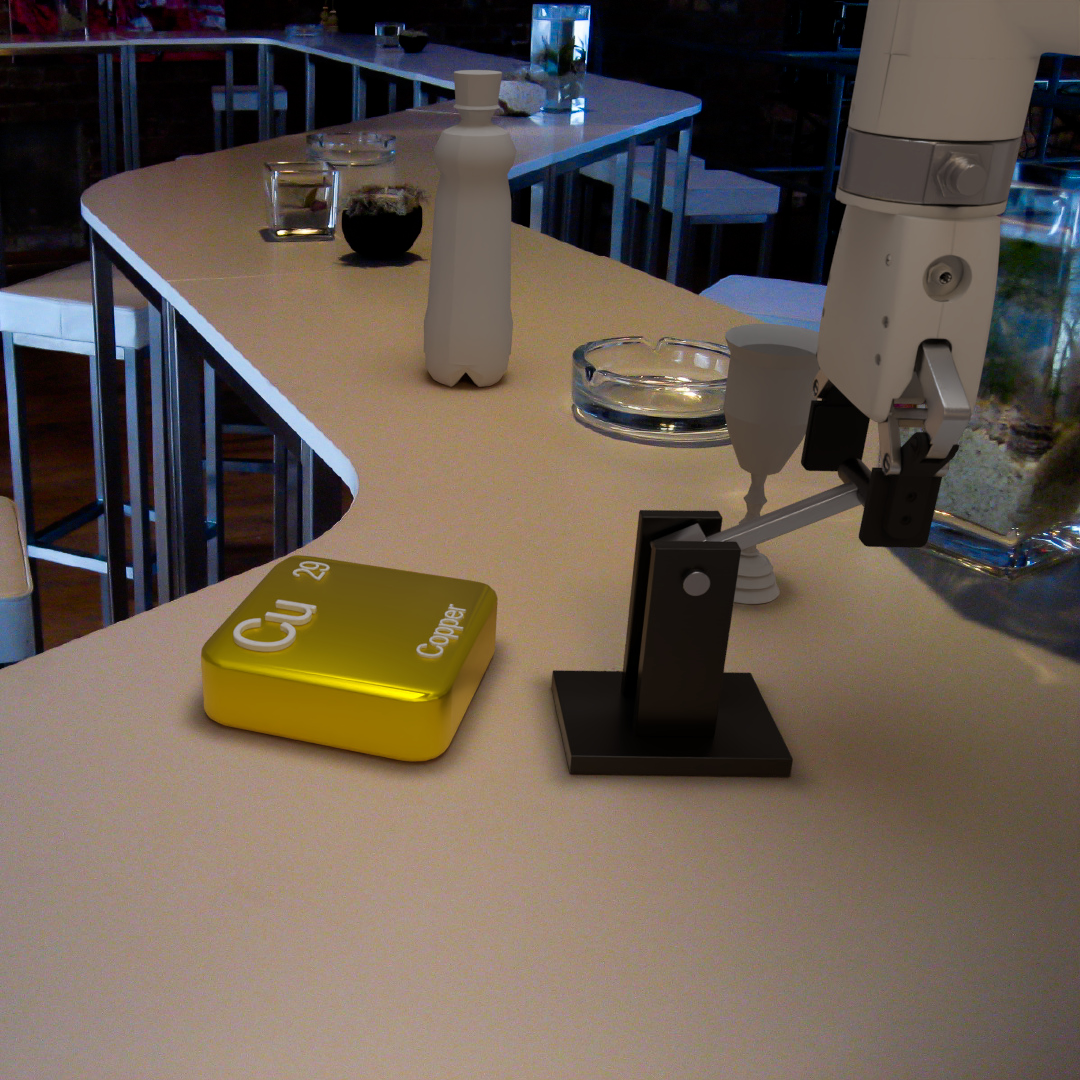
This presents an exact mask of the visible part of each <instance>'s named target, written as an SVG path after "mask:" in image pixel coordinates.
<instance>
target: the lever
mask: <svg viewBox="0 0 1080 1080" xmlns="http://www.w3.org/2000/svg"><path fill="white" fill-rule="evenodd" d="M871 471H872V470H871V469H870V468H869V467H868V466H867V465H866V464H865V462H863V460H862V461H861V460H860V459H857V458H849V459H846V460H844V461H843V462H842V463H841V464H840V466H839V468H838V471H837V475H838V476H837V477H838V478H839V479H840V480H841V482H842V484H840V485H837V486H834V487H832V488H829V489H827V490H824V491H822V492H819V493H816V494H814V495H811V496H808V497H806V498H804V499H801V500H799V501H795V502H793V503H790V504H788V505H785V506H783V507H780V508H777V509H775V510H773V511H770V512H768V513H767V512H766V513H765V514H763V515H760V517H757V518H755V519H752V520H749V521H747V522H744V523H742V524H739V523H738V524H737V525H734V526H732V527H729V528H727V529H726V528H725V529H724V530H721V532H719V533H716V534H713V535H711V536H708V537H705V535H704V533H703V531H702V529H701V527H700V525H699V524H694V525H692V526H689V527H687V528H684V529H682V530H679V531H677V532H674V533H671V534H669V535H666V536H664V537H661V538H659V539H656V540H654V541H725V542H737V543H738V545H739V547H740V549H741V551H742V550H744V549H747V548H750V547H752V546H755V545H756V546H758V545H760V544H763V543H765V542H767V541H770V540H773V539H776V538H778V537H781V536H784V535H785V534H788V533H791V532H793V531H796V530H798V529H799V530H800V529H802V528H805V527H807V526H809V525H813V524H814V523H817V522H819V521H822V520H824V519H828V518H830V517H833V516H835V515H838V514H841V513H844V512H846V511H849V510H851V509H853V508H857V507H858V506H862V507H863V508H864V506H865V501H866V496H867V491H868V486H869V481H870V476H871ZM652 542H653V541H651V542H650V545H651V548H652Z"/></svg>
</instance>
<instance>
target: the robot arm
mask: <svg viewBox="0 0 1080 1080" xmlns="http://www.w3.org/2000/svg"><path fill="white" fill-rule="evenodd" d="M1045 53H1046V54H1047V53H1052V54H1053V53H1054V54H1061V55H1062V54H1064V55H1072V56H1079V57H1080V0H868V5H867V9H866V17H865V22H864V29H863V34H862V40H861V46H860V52H859V58H858V64H857V69H856V74H855V81H854V86H853V92H852V97H851V102H850V108H849V115H848V122H847V125H848V126H847V128H846V132H845V138H844V144H843V150H842V156H841V162H840V168H839V173H838V180H837V185H836V190H835V199H836V201H839V202H840V203H841V204H844V205H846V206H845V209H844V213H843V218H842V220H841V225H840V227H839V233H838V237H837V240H836V244H835V249H834V252H833V253H834V254H833V257H832V262H831V266H830V270H829V275H828V280H827V285H826V289H825V294H824V301H823V305H822V312H821V317H820V323H819V330H818V332H819V336H818V346H817V352H816V357H817V360H818V364H819V371H818V373H817V375H816V376H815V378H814V380H813V384H812V395H813V398H815V399H817V400H811V406H810V411H809V417H808V423H807V429H806V434H805V436H804V439H803V447H802V453H801V458H800V465H801V466H802V467H803V468H804V470H805V471H808V472H838V468H839V466H840V464H841V463H842V462H843V461H844V460H846V459H849V458H857V459H860V460H861V461H862V462H863V456H864V451H865V447H866V441H867V436H868V431H869V427H870V421H873V422H874V423H877V431H878V443H879V454H880V466H881V467H876V466H875V467H874V466H873V467H872V468H871V470H870V471H871V476H870V481H869V486H868V491H867V496H866V501H865V506H864V507H863V511H862V515H861V522H860V527H859V531H858V538H859V541H860V542H861V544H862V545H863V546H865V547H869V548H906V549H907V548H909V549H910V548H911V549H912V548H914V549H915V548H916V549H920V548H923V547H924V546H925V545H926V544H927V543H928V541H929V537H930V533H931V528H932V523H933V519H934V515H935V510H936V506H937V502H938V498H939V492H940V488H941V483H942V479H943V477H946V476H947V475H948V473H949V469H950V463H951V462H950V461H952V460H953V459H954V458H955V456H956V455H957V453H958V451H959V450H960V444H958V443H959V441H960V439H961V438H962V436H963V434H964V433H965V431H966V429H967V428H968V425H970V424H969V423H970V421H971V419H972V416H973V414H974V411H975V407H976V402H977V398H978V394H979V390H980V384H981V379H982V374H983V369H984V363H985V358H986V353H987V347H988V341H989V336H990V329H991V323H992V319H993V318H992V317H993V311H994V304H995V297H996V289H997V281H998V272H999V258H1000V246H1001V217H999V216H998V215H1002V214H1003V213H1005V211H1006V209H1007V204H1008V201H1009V199H1008V198H1009V195H1010V192H1011V187H1012V183H1013V182H1012V181H1013V178H1014V173H1015V169H1016V165H1017V159H1018V156H1019V151H1020V147H1021V144H1022V143H1021V142H1022V136H1023V133H1024V128H1025V124H1026V120H1027V115H1028V111H1029V107H1030V103H1031V98H1032V94H1033V89H1034V85H1035V83H1036V82H1035V80H1036V77H1037V73H1038V69H1039V65H1040V59H1041V56H1042V55H1043V54H1045ZM923 404H924V407H895V405H923ZM901 428H919V429H921V428H922V429H923V431H916V432H914V433H913V434H912V435H911V437H909V438H908V439H907V440H906V441H905V443H903V444H902V442H901V430H900V429H901Z"/></svg>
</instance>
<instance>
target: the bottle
mask: <svg viewBox="0 0 1080 1080" xmlns="http://www.w3.org/2000/svg"><path fill="white" fill-rule="evenodd" d="M502 77H503V72H502V71H499V70H492V69H491V70H489V69H464V70H463V69H462V70H455V71H453V82H454V84H453V85H454V95H455V96H454V98H455V104H454V105H453V106H452V107H453V108H454V109H456V110H457V112H458V114H459V117H460V119H461V120H460V121H459V123H457V124H454V125H453V126H450V127H448V128H446V129H443V130H442V131H441V134H440V136H439V138H438V139H437V142H436V144H435V146H434V148H433V154H434V160H435V164H436V167H437V168H438V171H439V172H440V175H439V180H438V183H437V188H436V194H435V198H434V208H433V209H434V210H433V224H432V225H433V226H432V235H431V236H432V237H431V250H430V251H431V252H430V267H429V278H428V279H429V281H428V292H427V293H428V294H427V306H426V309H425V313H424V314H425V315H424V319H423V353H424V357H425V358H424V361H425V362H424V363H425V369H426V370H427V371H428V373H429V375H430V376H431V378H432V380H434V381H435V382H437V383H439V384H442V385H444V386H448V387H451V388H452V387H454V386H455V385H458V383H459V382H460V380H461V379H462V377H463V376H464V375H465V374H467V375H468V376H469V378H470V379H471V380H472V382H473V383H474V385H476V386H477V387H478V388H482V387H491V386H493V385H495V384H497V383H498V382H500V380H501V379H502V377H503V376H504V375H505V373H506V372H507V371H508V369H509V367H508V366H509V361H510V356H511V354H512V343H513V330H514V321H513V314H512V306H511V305H512V304H511V300H512V298H511V297H512V296H511V294H512V291H511V290H512V283H511V282H512V197H511V190H510V189H511V188H510V185H509V184H510V182H509V176H508V175H509V173H510V171H511V169H512V167H513V166H514V162H515V160H516V159H515V158H516V154H517V149H516V146H515V144H514V142H513V139H512V136H511V133H510V132H509V131H508V130H506V129H505V128H502V127H500V126H499V125H497V124H494V123H493V121H492V119H493V116H494V114H495V112H496V110H498V109H500V108H501V106H500V105H499V98H500V92H501V84H502V79H503V78H502Z"/></svg>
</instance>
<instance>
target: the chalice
mask: <svg viewBox="0 0 1080 1080" xmlns="http://www.w3.org/2000/svg"><path fill="white" fill-rule="evenodd" d="M818 336H819V331H816V330H813V329H809V328H806V327H801V326H795V325H789V324H779V323H750V324H741V325H738V326H735V327H734V326H733V327H731V328H729V329H728V330H727V331H725V334H724V339H725V341H726V344H727V347H728V350H729V352H730V354H729V362H728V369H727V378H726V385H725V391H724V401H723V413H724V417H725V424H726V429H727V434H728V437H729V439H730V443H731V445H732V448H733V451H734V454H735V457H736V460H737V462H738V465H739V467H740V468H741V469H742V470H744V471H745V472H747V473H749V474H750V480H751V481H750V482H751V483H750V486H749V488H748V491H747V493H746V495H744V496H743V501H744V502H745V504H746V505H745V506H746V513H745V514H744V515H745V516H744V517H743V518H742V519H740V520H739V522H738V525H739V524H742V523H744V522H747V521H749V520H752V519H755V518H757V517H760V516H761V512H762V509H763V508H764V506H765V505H766V504H767V503H768V498H767V496H766V494H765V484H766V480H767V478H768V476H772V475H776V474H779V473H780V472H781V471H782V470H783V468H784V467H785V466H786V464H787V463H788V461H789V460H790V458H791V457H792V456H793V454H794V453H795V452H796V450H797V449H798V448H799V446H800V444H801V443H802V441H804V439H805V434H806V429H807V423H808V417H809V411H810V406H811V400H818V399H815V398H813V395H812V384H813V380H814V378H815V376H816V375H817V373H818V371H819V364H818V360H817V357H816V352H817V346H818ZM780 590H781V589H780V588H779V585H778V584H777V576H776V574H775V572H774V566H773V564H772V563H771V561H770V559H769V558H768V556H766V555H765V554H764V553H762V552H760V549H758V548H757V545H755V546H752V547H750V548H747V549H744V550H742V551H741V555H740V562H739V569H738V576H737V583H736V590H735V597H734V603H738V604H745V605H760V604H765V603H770V602H772V601H774V600H776V599H777V598H778V597H779V596H780V592H781V591H780Z"/></svg>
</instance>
